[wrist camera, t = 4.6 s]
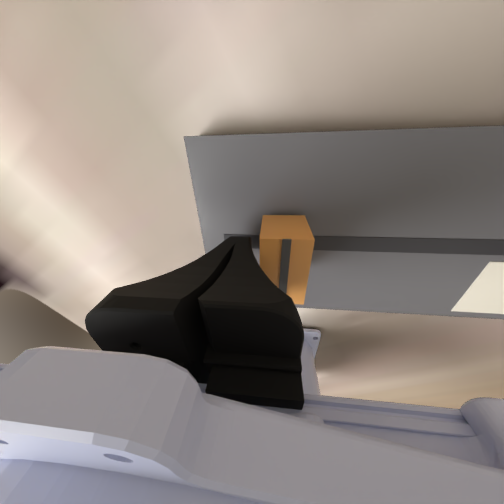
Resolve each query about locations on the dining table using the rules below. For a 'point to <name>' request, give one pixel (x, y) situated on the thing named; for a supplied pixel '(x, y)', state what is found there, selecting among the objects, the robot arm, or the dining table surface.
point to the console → (369, 212)
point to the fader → (287, 253)
